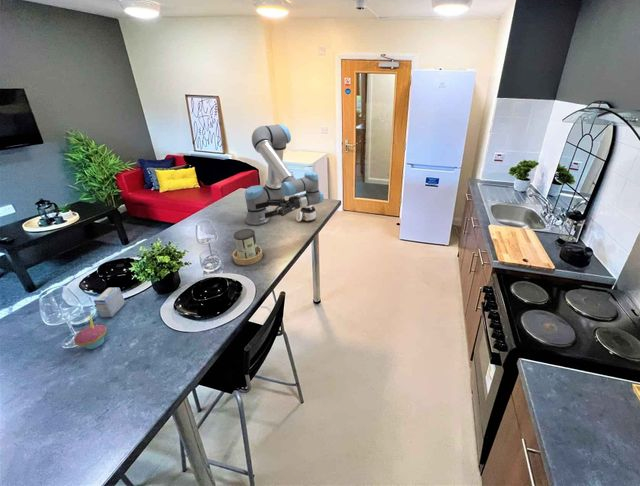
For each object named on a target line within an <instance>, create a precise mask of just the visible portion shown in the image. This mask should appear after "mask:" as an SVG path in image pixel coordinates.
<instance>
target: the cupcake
mask: <svg viewBox="0 0 640 486" xmlns="http://www.w3.org/2000/svg"><path fill="white" fill-rule="evenodd" d="M88 319H89V323H90V324H89V325H88V326H86V327H84V328H83V329H81V330H79V332H77V333H76V335H75V336H74V338H73V343H74V345H76V346H79V347H84V348H86V349H87V350H94V349H97V348H99V347H101V346H102V345H103V344H104V342H105V336H106V335H107V332H108V329H107V326H106V325H105V324H102V323H97V324H96V323H95V324H94V322H93V316H92V315H91V314H90V315H89V318H88Z"/></svg>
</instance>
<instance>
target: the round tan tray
mask: <svg viewBox="0 0 640 486" xmlns="http://www.w3.org/2000/svg"><path fill="white" fill-rule="evenodd" d="M257 251H258V254H257V255H256V256H254V257H251V258H247V259H239V258H238V254H237V249H236V248H235V250H234V251H233V252H232V254H231V256H232V260H233V262H234V263H235V264H236V265H238V266H250V265H253V264H256V263H258V262H259V261H261V260H262V258H263V249H262V247H261V246H259V245H257Z"/></svg>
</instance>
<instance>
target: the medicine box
mask: <svg viewBox="0 0 640 486" xmlns="http://www.w3.org/2000/svg"><path fill="white" fill-rule="evenodd" d="M93 302H94V305H95V308H96V310H97V311H98V313H99V316H100V318H113V317H114V316H115V315H116V314H117V313H118V311H120V310H121V309H122V307H124V306H125V305H126V300H125V298H124V297H123V293H122V291H121V288H120V287H107V288H106V289H105V290H104V291H103V292H102V293H101V294H99V295H98V296H97V297H96V298H95V299H94V300H93Z"/></svg>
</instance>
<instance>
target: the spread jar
mask: <svg viewBox="0 0 640 486" xmlns="http://www.w3.org/2000/svg"><path fill="white" fill-rule="evenodd" d="M316 218H317V210H316V208H315V206H314V205H311V206H307V207H303V208H300V210H299V211H297V212H296V217H295V219H296V221H297V222H301V221H304V222H307V223H309V222H312V221H314V220H315V219H316Z"/></svg>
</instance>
